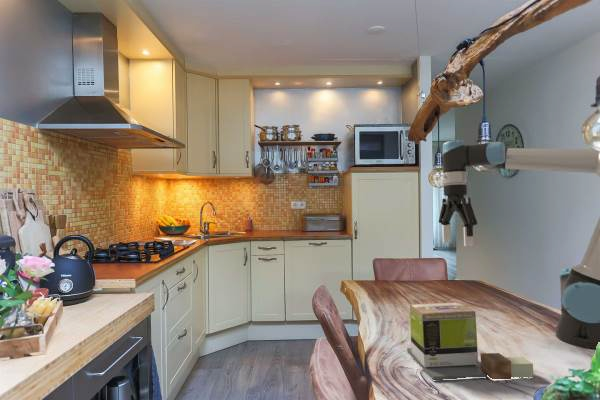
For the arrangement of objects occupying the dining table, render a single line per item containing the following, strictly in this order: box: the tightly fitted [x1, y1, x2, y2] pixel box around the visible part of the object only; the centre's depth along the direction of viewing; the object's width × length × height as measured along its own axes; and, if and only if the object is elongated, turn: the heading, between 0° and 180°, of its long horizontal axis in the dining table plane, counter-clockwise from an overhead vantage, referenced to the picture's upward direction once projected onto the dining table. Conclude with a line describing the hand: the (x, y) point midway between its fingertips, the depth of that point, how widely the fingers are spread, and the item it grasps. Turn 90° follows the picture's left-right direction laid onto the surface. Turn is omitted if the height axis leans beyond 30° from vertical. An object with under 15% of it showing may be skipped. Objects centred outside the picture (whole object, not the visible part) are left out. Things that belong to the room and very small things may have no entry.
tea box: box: [409, 301, 479, 367], centre depth 98 cm, size 15×10×15 cm
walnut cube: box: [480, 352, 511, 379], centre depth 90 cm, size 5×5×5 cm
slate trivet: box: [406, 347, 487, 381], centre depth 98 cm, size 14×18×1 cm
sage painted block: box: [504, 356, 534, 378], centre depth 91 cm, size 6×4×4 cm, turn 91°
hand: (457, 244), depth 123 cm, fingers open, 13 cm apart
